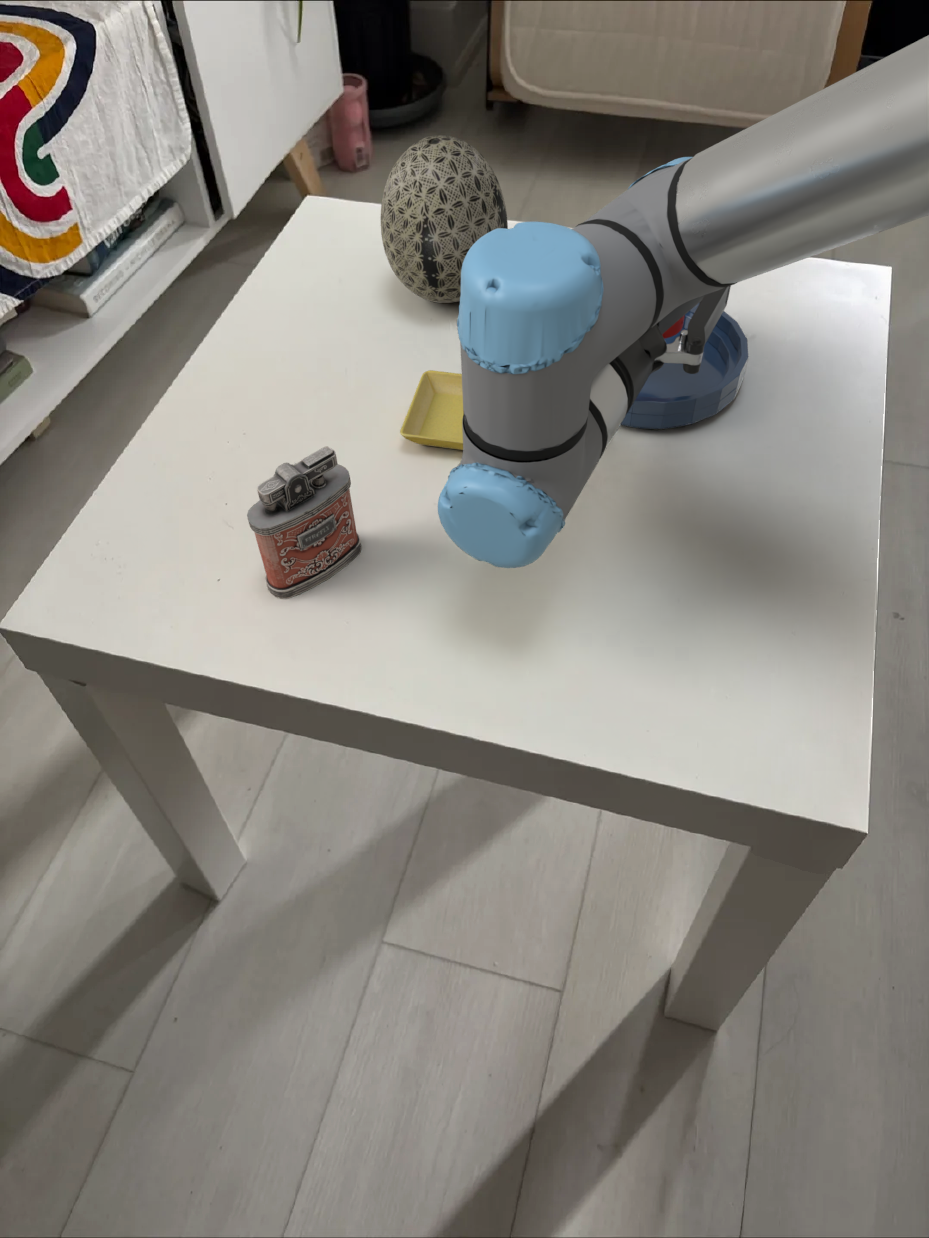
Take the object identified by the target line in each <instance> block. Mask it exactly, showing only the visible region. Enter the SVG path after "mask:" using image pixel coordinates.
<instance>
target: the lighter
mask: <svg viewBox="0 0 929 1238" xmlns="http://www.w3.org/2000/svg"><path fill="white" fill-rule="evenodd" d="M351 484H352V481H351V475H350V472H349V470H348V469H347V468H346V467H345V466H343V465H341V464H340V463H339V464H338V458H337V452H336V451H335V450H334V449H333V448H332V447H330V446H323V447H321V448H320V449H317V450H316V451H314V452H312V453H311V454H308V455H307V456H306V457H303V458H302V459H300V461H297V462H296V463H294V464H291V463H290V462H283V463H282V464H280V465H278V466H277V468H275V471H274V473H273V475H272V476H271V477H270V478H268V479H266V480H264V481H262V482H261V483H259V484H257V486H256V492H257V494H258V498H259V500H258V501H256V503H254V504H253V505H251V507H250V508H249V509H248V510H247V514H246V517H247V518H246V519H247V521H248V525H249V528H250V530H251V531H252V532H253V533H254V537H255V541H256V543H257V546H258V550H259V554H260V557H261V560H262V564H263V569H264V571H265V578H264V579H265V583H266V587H267V591H268V592H269V593H270V595H272V596H273V597H275V598H278V599H284V600H285V599H290V598H293V597H295V596H298V595H300V594H302V593H305V592H307V591H309V590H311V589H313V588H314V587H316V586H318V585H320V584H321V583H324V582H325V581H327V580H329V579H330V578H332V577H333V576H334V575H336V574H337V573H338V572H340V571H341V570H343V569H344V568H346V567H347V565H349V564H350V563H351V562H352V561H353V560H355V558H357V557H358V556H359V555H360V553H361V552H362V548H363V547H362V542H361V536H360V535H359V532H357V527H356V520H355V515H354V508H353V501H352V497H351V492H350V491H351V490H350V488H351Z"/></svg>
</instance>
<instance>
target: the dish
mask: <svg viewBox="0 0 929 1238" xmlns="http://www.w3.org/2000/svg"><path fill="white" fill-rule="evenodd" d="M699 304H700V303H698V304H697V305H696V306H695V307H693V308H692V309H691V310H690V311H689V312H688V313H686V314H685V318H684V324H683V327H682V329H681V331H682V330H687V329H688V324H689V322H690V319H691V318H692V316H693V314H694V313H695V311H696V309H697V308H698V306H699ZM681 331H680V332H679V333H677V334H676V335H674V336H672V337H669V338H665V339H664V340H665V342H666V344H670V343H673V342H674V341H675V338H677V337H678V336H680V333H681ZM748 361H749V344H748V338H747V336H746V335H745V332H744V331H743V329H742V328H741V326H740V324H739V322H738V321H737V320H736V319H735V318H733V317H732V316H731V315H730V314H728V313H727V311H725V310H724V311H723V313H722V315H721V316H720V318H719V320H718V322H717V324H716V325H715V327H714V329H713V331H712V332H711V334H710V336H709V338H708V340H707V341H706V343H705V346H704V351H703V356H702V361H701V365H700V370H699V372H698V373H695V374H689V373H686V372H685V371H684V370H683V364H680V363H664V365H663V366H662V367H661V368H660V369H659V370H657V371H655V372H653V373H651V374H650V375H649V377H648V379H647V380H646V382H645V384H644V386H643V388H642V389H641V391H640V393H639V394H638V396H637V398H636V399H635V401H634V403H633V405H632V406H631V408H630V410H629V411H628V413H627V414H626V415H625V418H624V419H623V421H622V423H621V424H620V426H624V427H628V428H629V427H630V428H633V429H634V428H635V429H642V430H666V429H675V428H680V427H684V426H688V425H693V424H695V423H698V422H700V421H703V420H706V419H709V418H711V417H713V416H716V415H717V414H719V412H721V411H722V410H723V409H724V408H726V407H728V405H729V404H730V403H732V402H733V401H734V400H735V398H736V396H737V395H738V392H739V390H740V388H741V386H742V385H743V381H744V379H745V374H746V369H747V364H748Z"/></svg>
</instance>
